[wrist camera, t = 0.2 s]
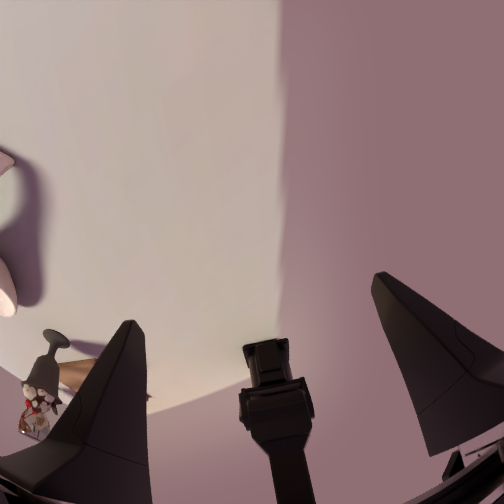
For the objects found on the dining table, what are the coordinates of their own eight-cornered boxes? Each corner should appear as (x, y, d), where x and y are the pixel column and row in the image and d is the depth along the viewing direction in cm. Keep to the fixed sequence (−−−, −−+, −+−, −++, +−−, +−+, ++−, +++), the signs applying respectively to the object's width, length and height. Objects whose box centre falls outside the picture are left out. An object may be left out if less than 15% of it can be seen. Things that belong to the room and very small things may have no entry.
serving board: (148, 396, 46) (148, 400, 45) (95, 399, 47) (94, 403, 46) (94, 358, 36) (93, 363, 35) (44, 365, 37) (43, 369, 36)
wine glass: (58, 393, 46) (49, 446, 34) (30, 381, 42) (19, 433, 30) (58, 384, 42) (48, 443, 30) (28, 370, 39) (15, 428, 27)
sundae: (31, 324, 30) (5, 408, 18) (62, 326, 30) (37, 420, 19) (50, 348, 34) (32, 426, 22) (80, 352, 34) (64, 437, 23)
